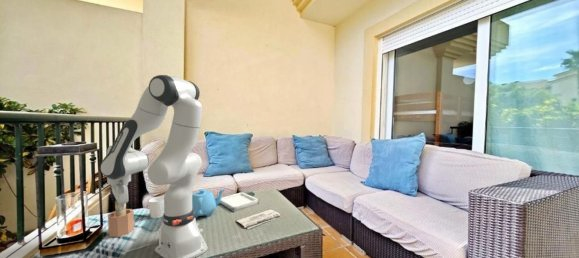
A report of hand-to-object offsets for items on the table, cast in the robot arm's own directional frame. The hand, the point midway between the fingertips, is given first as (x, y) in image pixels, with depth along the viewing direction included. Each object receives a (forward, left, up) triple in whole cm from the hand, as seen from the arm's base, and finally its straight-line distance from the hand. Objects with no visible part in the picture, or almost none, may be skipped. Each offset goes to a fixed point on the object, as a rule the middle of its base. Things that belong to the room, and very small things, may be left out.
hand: (120, 207), depth 105 cm
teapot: (-5, -37, -13) cm, 39 cm away
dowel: (0, 0, -12) cm, 12 cm away
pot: (0, 0, -13) cm, 13 cm away
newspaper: (-33, -56, -14) cm, 67 cm away
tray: (-5, -60, -13) cm, 62 cm away
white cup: (+8, -17, -13) cm, 23 cm away
